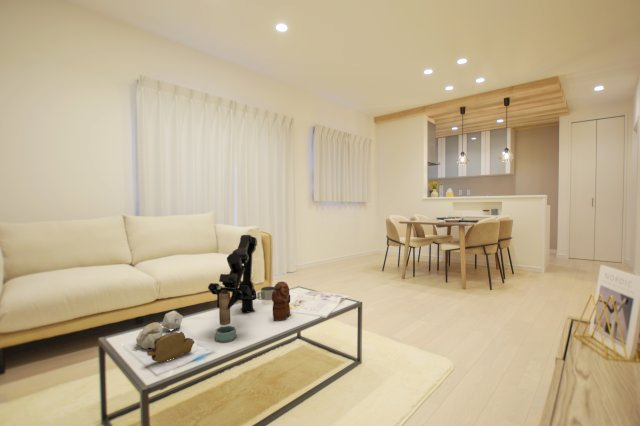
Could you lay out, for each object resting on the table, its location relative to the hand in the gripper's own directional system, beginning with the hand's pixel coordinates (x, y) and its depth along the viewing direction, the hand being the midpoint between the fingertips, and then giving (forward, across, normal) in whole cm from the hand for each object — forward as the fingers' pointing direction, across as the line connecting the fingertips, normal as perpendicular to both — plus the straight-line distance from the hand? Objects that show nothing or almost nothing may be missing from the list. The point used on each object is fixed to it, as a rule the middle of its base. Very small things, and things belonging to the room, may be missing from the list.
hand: (223, 307), depth 136 cm
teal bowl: (+9, 0, +10) cm, 14 cm away
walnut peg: (+4, 0, +6) cm, 7 cm away
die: (+6, -29, +13) cm, 32 cm away
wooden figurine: (-11, +15, +30) cm, 36 cm away
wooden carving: (+23, -10, -4) cm, 26 cm away
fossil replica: (+18, -26, +2) cm, 32 cm away
